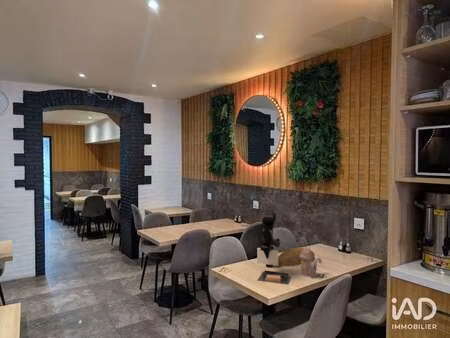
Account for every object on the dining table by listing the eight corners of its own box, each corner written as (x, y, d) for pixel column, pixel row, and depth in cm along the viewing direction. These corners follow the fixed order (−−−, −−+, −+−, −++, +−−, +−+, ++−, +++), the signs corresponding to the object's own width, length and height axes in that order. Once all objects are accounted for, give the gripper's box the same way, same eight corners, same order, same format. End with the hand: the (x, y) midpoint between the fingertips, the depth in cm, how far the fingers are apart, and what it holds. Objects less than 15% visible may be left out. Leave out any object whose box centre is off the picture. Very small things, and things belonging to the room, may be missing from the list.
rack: (262, 273, 216) (262, 268, 216) (291, 277, 209) (291, 272, 209) (257, 282, 201) (257, 276, 200) (288, 286, 194) (288, 280, 194)
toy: (296, 275, 214) (296, 246, 213) (316, 271, 222) (316, 243, 221) (305, 279, 206) (305, 249, 205) (325, 275, 214) (326, 246, 213)
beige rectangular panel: (257, 262, 216) (257, 247, 215) (278, 264, 211) (278, 249, 211) (257, 263, 214) (257, 248, 214) (277, 265, 209) (277, 250, 209)
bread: (307, 257, 256) (307, 244, 256) (317, 260, 247) (318, 248, 247) (273, 263, 238) (273, 250, 238) (282, 268, 229) (283, 254, 229)
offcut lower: (266, 278, 205) (266, 276, 204) (281, 280, 201) (282, 278, 201) (264, 281, 199) (264, 279, 199) (280, 283, 196) (280, 281, 196)
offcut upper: (266, 276, 203) (266, 274, 203) (280, 277, 202) (280, 275, 202) (266, 279, 198) (266, 277, 198) (280, 280, 197) (280, 278, 197)
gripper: (277, 239, 200) (277, 263, 201) (282, 233, 218) (281, 255, 218) (260, 237, 204) (260, 261, 204) (266, 232, 222) (266, 253, 222)
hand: (267, 258), depth 212 cm, fingers closed on beige rectangular panel, 2 cm apart
